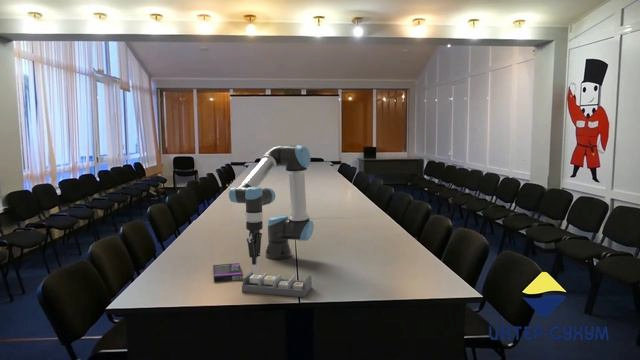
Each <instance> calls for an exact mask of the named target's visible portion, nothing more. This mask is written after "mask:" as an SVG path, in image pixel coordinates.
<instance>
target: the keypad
mask: <svg viewBox="0 0 640 360" xmlns="http://www.w3.org/2000/svg"><path fill="white" fill-rule="evenodd" d="M252 275H254V271H252V270H251V271H249V272H248V273H247V274H245V275H244V276H243V279H242V285H241V292H243V293H253V294H263V295H264V294H266V295H273V296H287V297H297V298H306V296H307V295H308V294H309V292H310V291H311V289H312V287H313V286H312V285H313V284H312V283H313V282H312V276H311V275H308V276H307V277H306V278H305V280H297V279H296V275H295V274H293V275H292V277H290V278H289V279H286V278H284V279H283V278H282V274H281V273H279V274H278V275H277V276H276V278H275V279H274V280H273V285H269V284H264V278H265V277H266V276H268V272H265V273H263V275H262V277H260V278H259V279H258V284H257V283H250V280H249V278H250V277H251V276H252ZM280 281H288V288H278V284H279V283H280ZM295 282H303V290H301V289H293V284H294V283H295Z"/></svg>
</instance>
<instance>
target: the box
mask: <svg viewBox="0 0 640 360" xmlns="http://www.w3.org/2000/svg"><path fill="white" fill-rule="evenodd" d="M212 268H213V269H212V270H213V282H214V283H218V282H228V281H230V282H231V281H239V280H240V281H241V280H242V281H243V277H244V276H243V273H242V268H241V264H240V262H237V263H221V264H212Z"/></svg>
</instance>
